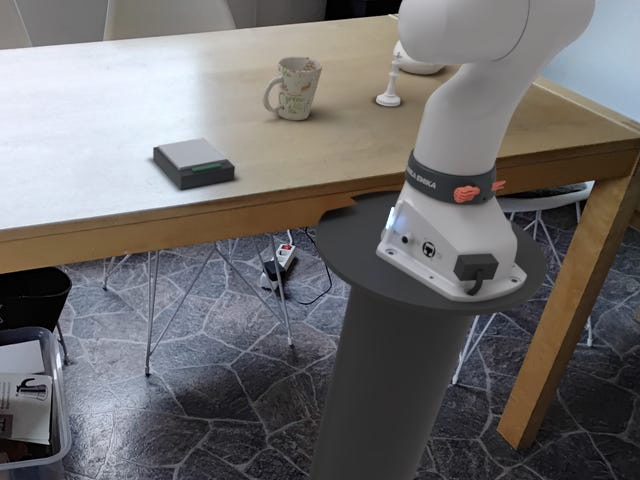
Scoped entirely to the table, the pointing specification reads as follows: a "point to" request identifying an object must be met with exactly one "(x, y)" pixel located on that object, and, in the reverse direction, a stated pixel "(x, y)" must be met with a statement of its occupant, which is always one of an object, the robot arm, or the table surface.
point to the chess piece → (391, 85)
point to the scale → (193, 163)
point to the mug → (294, 87)
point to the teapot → (414, 63)
